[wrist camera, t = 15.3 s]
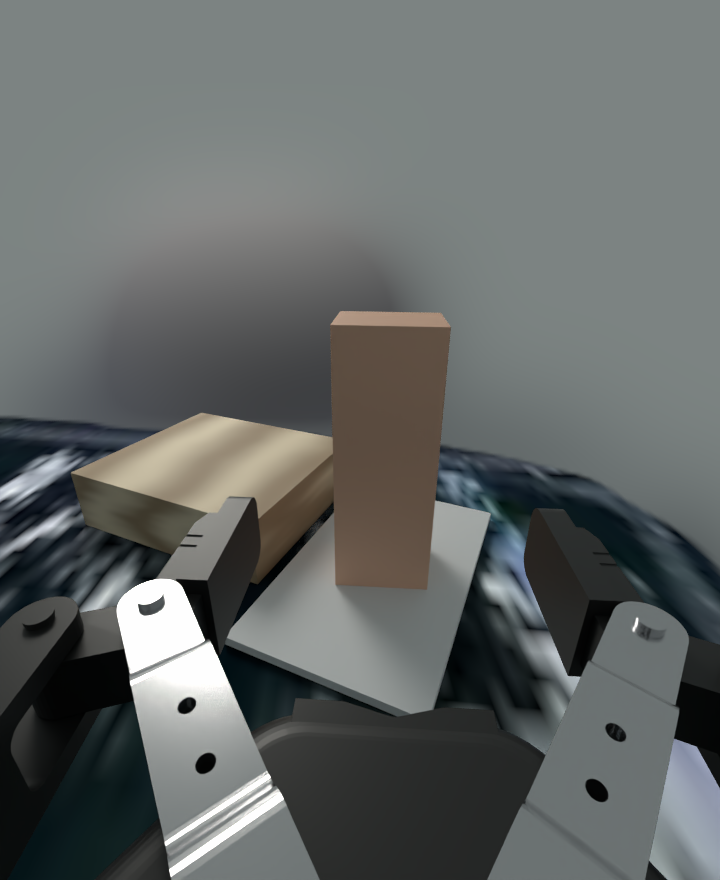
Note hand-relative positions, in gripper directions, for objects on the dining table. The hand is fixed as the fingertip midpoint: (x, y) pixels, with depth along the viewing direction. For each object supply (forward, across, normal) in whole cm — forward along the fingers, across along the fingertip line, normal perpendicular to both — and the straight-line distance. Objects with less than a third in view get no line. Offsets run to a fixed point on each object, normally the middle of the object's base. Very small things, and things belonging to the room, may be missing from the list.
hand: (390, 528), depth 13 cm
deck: (+16, +12, +10) cm, 22 cm away
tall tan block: (+10, 0, +10) cm, 14 cm away
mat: (+10, 0, +10) cm, 14 cm away
